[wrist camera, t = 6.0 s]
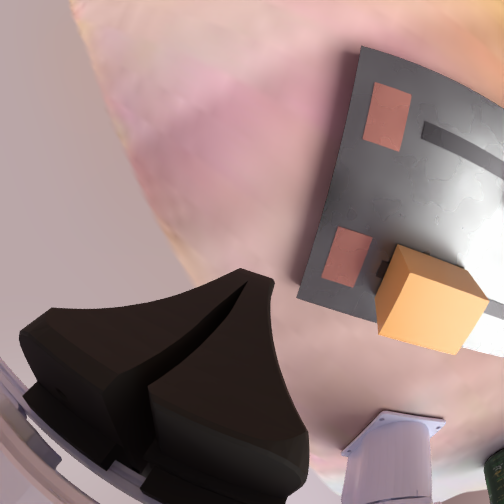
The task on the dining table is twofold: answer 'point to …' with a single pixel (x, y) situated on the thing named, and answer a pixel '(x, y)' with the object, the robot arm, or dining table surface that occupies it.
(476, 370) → the dining table surface
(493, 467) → the coffee jar
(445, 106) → the breaker panel
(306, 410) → the dining table surface
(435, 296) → the plain orange cube
